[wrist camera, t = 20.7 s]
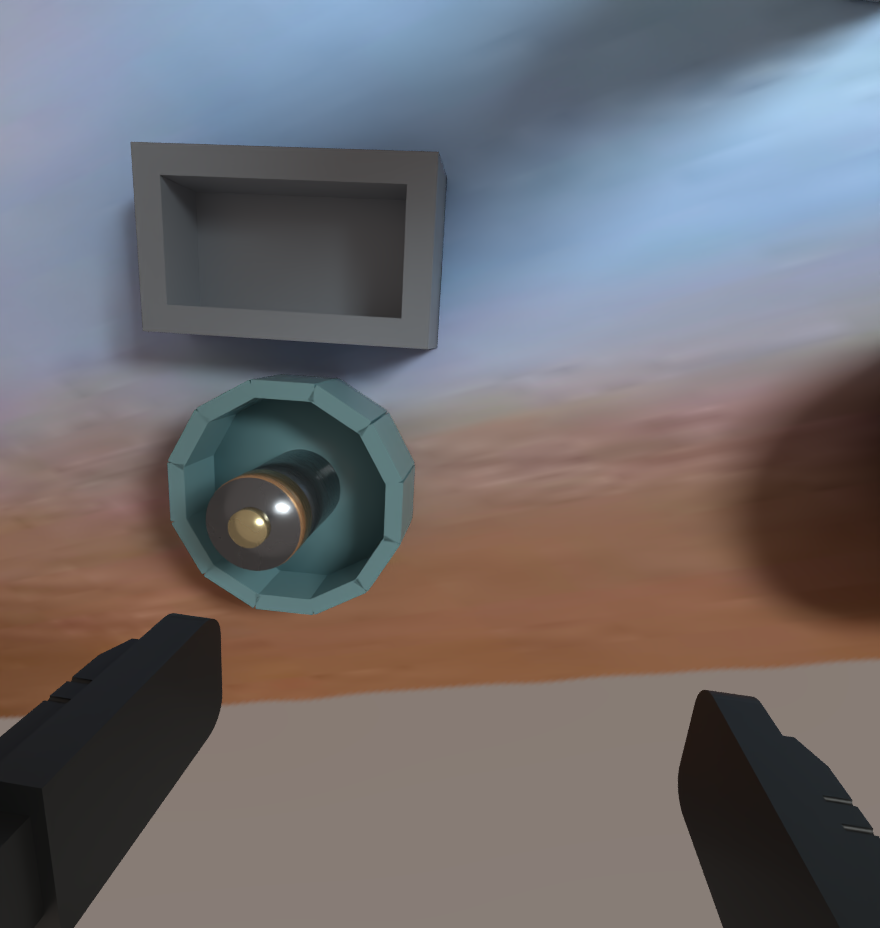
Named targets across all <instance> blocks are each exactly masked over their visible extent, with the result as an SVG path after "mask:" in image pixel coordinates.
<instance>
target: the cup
mask: <svg viewBox="0 0 880 928" xmlns="http://www.w3.org/2000/svg"><path fill="white" fill-rule="evenodd" d="M386 412H387V410H385V409H384V408H382V407H381V406H379V405H378V404H376V403H375V402H373V401H372V400H370V399H369V398H367V397H366V396H365V395H363V394H362V393H360V392H359V391H357V390H356V389H354V388H353V387H351V386H350V385H348V384H347V383H345V382H344V381H342V380H341V379H337V378H330V377H316V376H301V375H287V374H280V375H274V376H268V377H263V378H257V379H251V380H248V381H246V382H244V383H242V384H240V385H238V386H237V387H235V388H233V389H231V390H229V391H227V392H225V393H224V394H222V395H220V396H218V397H216V398H214V399H212V400H211V401H209V402H207V403H205V404H203V405H201V406H200V407H198V408H197V409H196V410H194V412H193V414H192V416H191V418H190V420H189V422H188V424H187V425H186V427H185V429H184V431H183V433H182V435H181V437H180V439H179V440H178V442H177V444H176V446H175V448H174V450H173V452H172V454H171V456H170V457H169V459H168V461H169V462H168V463H167V466H168V483H169V501H170V518H171V521H175V522H173V523H172V525H173V527H174V528H175V530H176V532H177V533H178V535H179V537H180V538H181V540H182V542H183V543H184V545H185V547H186V548H187V550H188V552H189V553H190V555H191V557H192V558H193V560H194V562H195V563H196V565H197V567H198V568H199V570H200V572H201V573H202V574H204V573H205V575H204V576H205V577H206V578H208V579H209V580H211V581H212V582H214V583H216V584H217V585H219V586H220V587H222V588H223V589H225V590H226V591H228V592H229V593H231V594H233V595H234V596H236V597H237V598H239V599H240V600H242V601H243V602H245V603H247V604H248V605H250V606H251V607H253V608H254V607H255V606H256V609H262V610H271V611H281V612H290V613H299V614H309V615H313V614H318V613H320V612H322V611H325V610H327V609H329V608H332V607H334V606H336V605H339V604H341V603H343V602H346V601H348V600H350V599H353V598H355V597H357V596H360V595H362V594H364V593H366V592H367V591H368V590H369V589H370V587H371V586H372V585H373V583H374V582H375V580H376V579H377V577H378V576H379V574H380V573H381V572H382V570H383V569H384V567H385V566H386V564H387V563H388V561H389V560H390V559H391V557H392V556H393V554H394V553H395V551H396V550H397V548H398V547H399V546H400V544H401V542H402V539H403V537H404V535H405V533H406V531H407V529H408V527H409V525H410V522H411V520H412V515H413V495H414V476H415V465H413V464H414V461H413V459H412V457H411V455H410V453H409V451H408V449H407V447H406V445H405V443H404V441H403V439H402V437H401V435H400V433H399V431H398V429H397V428H396V426H395V424H394V422H393V420H392V418H391V416H390V414H389V413H387V414H386ZM296 449H303V450H309V451H312V452H315V453H317V454H319V455H321V456H322V457H324V458H325V459H326V460H327V461H328V462H329V463H330V464H331V465H332V466H333V468H334V470H335V471H336V473H337V475H338V478H339V482H340V498H339V502H338V504H337V506H336V508H335V510H334V511H333V512H332V513H331V514H330V515H329V516H328V518H327V519H326V520H325V521H324V522H323V523H322V524H321V525H320V526H319V527H318V528H317V529H316V530H315V531H314V532H313V533H312V534H311V535H310V536H309V537H308V538H307V539H306V541H305V542H304V544H303V545H302V546H301V547H300V548H299V549H298V550H297V551H296V552H295V553H294V554H293V555H292V556H291V557H290V558H289V559H288V560H287V561H286V562H285V563H283V564H281V565H280V566H277V567H275V568H272V569H269V570H263V571H252V570H247V569H243V568H240V567H238V566H236V565H234V564H232V563H230V562H229V561H227V560H226V559H225V558H224V557H223V556H222V555H221V554H220V553H219V552H218V551H217V550H216V548H215V547H214V546H213V544H212V542H211V540H210V538H209V535H208V532H207V528H206V511H207V507H208V504H209V502H210V499H211V498H212V496H213V495H214V493H215V492H216V491H217V490H218V489H219V488H220V487H221V486H222V485H223V484H225V483H226V482H228V481H230V480H232V479H234V478H236V477H237V476H239V475H241V474H243V473H245V472H248V471H251V470H253V469H254V468H256V467H258V466H260V465H262V464H264V463H266V462H268V461H270V460H271V459H273V458H275V457H277V456H279V455H281V454H283V453H285V452H287V451H291V450H296Z"/></svg>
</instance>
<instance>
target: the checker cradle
mask: <svg viewBox="0 0 880 928" xmlns="http://www.w3.org/2000/svg"><path fill="white" fill-rule="evenodd" d="M131 155H132V171H133V187H134V202H135V218H136V233H137V249H138V264H139V280H140V296H141V311H142V327H143V331H148V332H164V333H180V334H196V335H211V336H227V337H243V338H258V339H274V340H290V341H305V342H321V343H337V344H353V345H368V346H384V347H400V348H415V349H433V348H437V342H438V325H439V307H440V290H441V272H442V255H443V237H444V220H445V202H446V184H447V177H446V173H445V170H444V167H443V164H442V161H441V158H440V155H439V152H425V151H394V150H364V149H333V148H302V147H271V146H240V145H210V144H179V143H148V142H131Z"/></svg>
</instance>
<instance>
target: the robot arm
mask: <svg viewBox="0 0 880 928" xmlns="http://www.w3.org/2000/svg"><path fill="white" fill-rule="evenodd" d="M865 1H873V2H880V0H865ZM221 703H222V667H221V632H220V626H219V623H218V622H217V620H215V619H210V618H203V617H196V616H189V615H182V614H175V613H172V614H169V615H167V616H166V617H164V618H163V619H162V620H161V621H160V622H158V623H157V624H156V625H155V626H154V627H153V628H152V629H151V630H149V631H148V632H147V633H146V634H145V635H144V636H143V637H141V638H140V639H139V640H138V639H131V640H128V641H126V642H124V643H122V644H120V645H118V646H116V647H114V648H112V649H110V650H108V651H106V652H104V653H102V654H100V655H98V656H97V657H96V658H95V659H93V660H92V661H91V662H90V663H89V664H87V665H86V666H85V667H84V668H83V669H81V670H80V671H79V672H78V673H77V674H75V675H74V676H73V678H72V681H71V682H68V681H67V682H66V683H65V684H63V685H62V686H61V687H60V688H59V689H57V690H56V691H55V692H54V693H53V694H51V695H50V698H49V700H48V701H43V702H42V703H40V704H39V705H38V706H37V707H36V708H34V709H33V710H32V711H31V712H30V713H28V714H27V715H26V716H25V717H24V718H22V719H21V720H20V721H19V722H18V723H17V724H15V725H14V726H13V727H12V728H11V729H9V730H8V731H7V732H6V733H4V734H3V735H2V736H1V737H0V928H74V927H75V925H76V924H77V922H78V921H79V920H80V918H81V917H82V915H83V914H84V913H85V911H86V910H87V908H88V907H89V905H90V904H91V903H92V901H93V900H94V898H95V897H96V896H97V894H98V893H99V891H100V890H101V889H102V887H103V886H104V884H105V883H106V881H107V880H108V879H109V877H110V876H111V874H112V873H113V871H114V870H115V869H116V867H117V866H118V864H119V863H120V862H121V860H122V859H123V857H124V856H125V855H126V853H127V852H128V850H129V849H130V847H131V846H132V845H133V843H134V842H135V840H136V839H137V838H138V836H139V834H140V833H141V832H142V831H143V829H144V828H145V826H146V825H147V823H148V822H149V821H150V819H151V818H152V816H153V815H154V814H155V812H156V811H157V809H158V808H159V806H160V805H161V804H162V802H163V801H164V799H165V798H166V797H167V795H168V794H169V792H170V791H171V790H172V788H173V787H174V785H175V784H176V782H177V781H178V780H179V778H180V777H181V775H182V774H183V772H184V771H185V770H186V768H187V767H188V765H189V764H190V763H191V761H192V760H193V758H194V757H195V756H196V754H197V753H198V751H199V750H200V748H201V747H202V746H203V744H204V743H205V741H206V740H207V739H208V737H209V735H210V734H211V732H212V730H213V728H214V726H215V724H216V721H217V719H218V716H219V712H220V708H221ZM678 794H679V801H680V806H681V811H682V814H683V817H684V820H685V822H686V825H687V828H688V831H689V834H690V836H691V839H692V842H693V845H694V848H695V850H696V853H697V856H698V859H699V861H700V864H701V867H702V870H703V873H704V876H705V878H706V881H707V884H708V887H709V889H710V892H711V895H712V898H713V901H714V903H715V906H716V909H717V912H718V914H719V917H720V920H721V923H722V926H723V928H880V838H879V836H874V834H873V828H872V827H871V825H870V824H869V822H868V821H867V820H866V818H865V817H864V816H863V814H862V813H861V811H860V810H859V809H858V807H856V806H853V805H852V799H851V798H850V796H849V795H848V793H847V792H846V791H845V789H844V788H843V786H842V785H841V784H840V783H839V781H838V780H837V778H836V777H835V775H834V774H833V773H832V771H831V770H830V768H829V767H828V766H827V765H826V764H825V763H823V762H822V761H821V760H820V759H819V758H817V757H816V756H815V755H814V754H813V753H812V752H811V751H809V750H808V749H807V748H806V747H804V745H802V744H801V743H800V742H799V741H798V740H797V739H795V738H794V737H787V736H783V735H782V734H781V732H780V731H779V729H778V728H777V726H776V725H775V723H774V722H773V721H772V719H771V718H770V716H769V715H768V713H767V711H766V710H765V709H764V707H763V705H762V704H761V703H760V701H759V700H758V699H756V698H755V697H751V696H744V695H736V694H729V693H722V692H716V691H709V690H702V691H701V692H700V693H699V694H698V696H697V699H696V702H695V705H694V710H693V714H692V717H691V722H690V726H689V730H688V734H687V738H686V742H685V746H684V750H683V754H682V758H681V763H680V767H679V773H678Z"/></svg>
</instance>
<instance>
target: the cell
mask: <svg viewBox="0 0 880 928" xmlns="http://www.w3.org/2000/svg"><path fill="white" fill-rule="evenodd" d="M339 498H340V482H339V478H338V475H337V473H336V471H335V470H334V468H333V466H332V465H331V464H330V463H329V462H328V461H327V460H326V459H325V458H324V457H322V456H321V455H319V454H317V453H315V452H312V451H309V450H303V449H296V450H291V451H287V452H285V453H283V454H281V455H279V456H277V457H275V458H273V459H271V460H270V461H268V462H266V463H264V464H262V465H260V466H258V467H256V468H254V469H253V470H251V471H248V472H245V473H243V474H241V475H239V476H237V477H236V478H234V479H232V480H230V481H228V482H226V483H225V484H223V485H222V486H221V487H220V488H219V489H218V490H217V491H216V492H215V493H214V495H213V496H212V498H211V499H210V502H209V504H208V507H207V511H206V528H207V532H208V535H209V538H210V540H211V542H212V544H213V546H214V547H215V548H216V550H217V551H218V552H219V553H220V554H221V555H222V556H223V557H224V558H225V559H226V560H227V561H229V562H230V563H232V564H234V565H236V566H238V567H240V568H243V569H247V570H252V571H263V570H269V569H272V568H275V567H277V566H280V565H281V564H283V563H285V562H286V561H287V560H288V559H289V558H290V557H291V556H292V555H293V554H294V553H295V552H296V551H297V550H298V549H299V548H300V547H301V546H302V545H303V544H304V542H305V541H306V539H307V538H308V537H309V536H310V535H311V534H312V533H313V532H314V531H315V530H316V529H317V528H318V527H319V526H320V525H321V524H322V523H323V522H324V521H325V520H326V519H327V518H328V516H329V515H330V514H331V513H332V512H333V511H334V510H335V508H336V506H337V504H338V502H339Z"/></svg>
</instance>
